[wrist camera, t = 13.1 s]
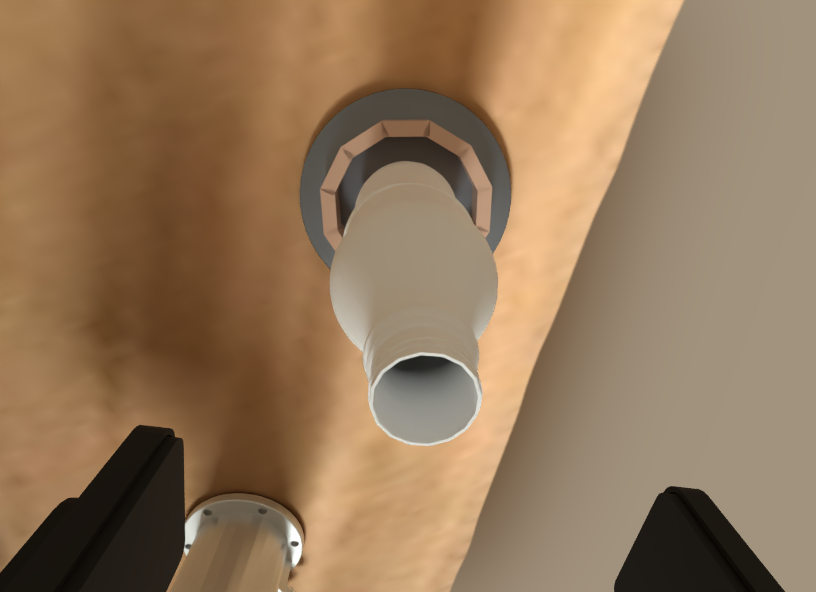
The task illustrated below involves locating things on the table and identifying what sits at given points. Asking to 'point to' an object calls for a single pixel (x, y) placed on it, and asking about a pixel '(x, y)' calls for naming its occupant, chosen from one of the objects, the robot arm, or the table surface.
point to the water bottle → (415, 301)
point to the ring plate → (402, 141)
